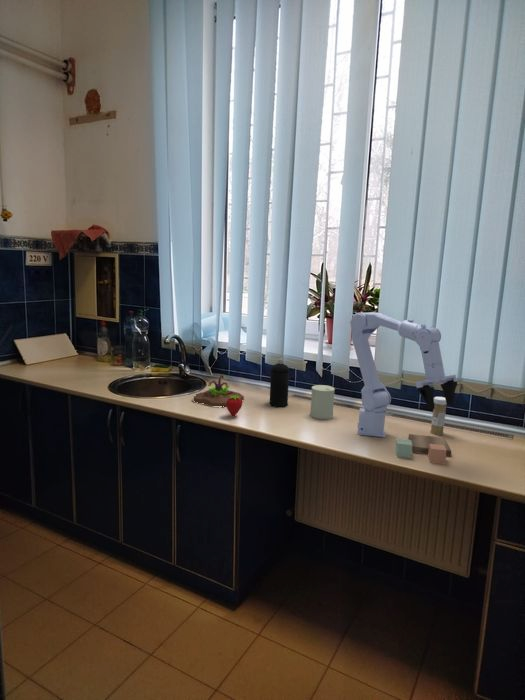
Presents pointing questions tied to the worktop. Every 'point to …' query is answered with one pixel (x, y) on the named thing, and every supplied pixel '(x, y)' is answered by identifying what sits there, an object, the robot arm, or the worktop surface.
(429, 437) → the walnut base
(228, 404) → the strawberry
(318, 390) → the can
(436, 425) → the sprinkles bottle
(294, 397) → the worktop surface
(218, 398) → the plant
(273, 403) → the aerosol can
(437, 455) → the terracotta cube
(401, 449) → the sage cube
